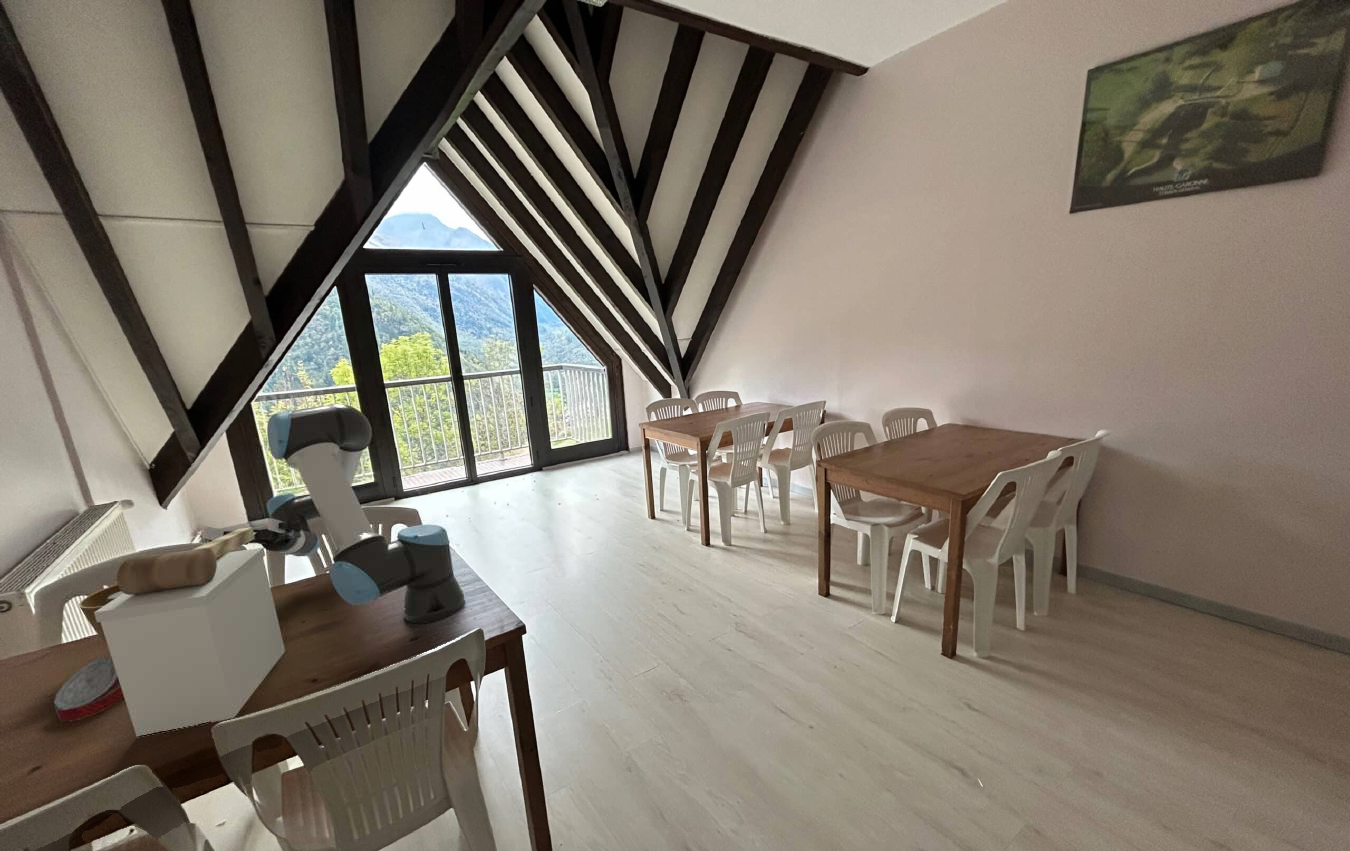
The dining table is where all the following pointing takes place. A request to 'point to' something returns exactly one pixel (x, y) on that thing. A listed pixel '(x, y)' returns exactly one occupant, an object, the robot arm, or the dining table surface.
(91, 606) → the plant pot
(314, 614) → the dining table surface
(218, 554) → the mallet
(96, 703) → the canned food
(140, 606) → the pedestal
